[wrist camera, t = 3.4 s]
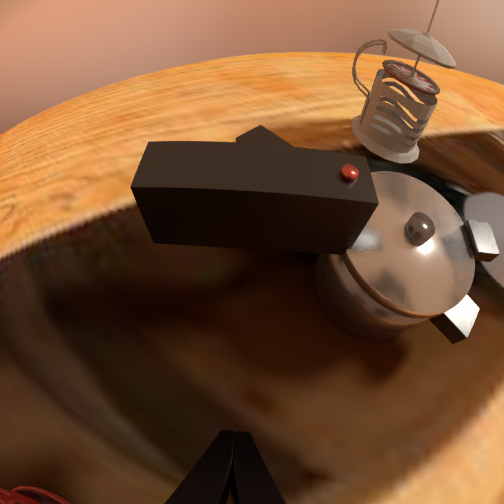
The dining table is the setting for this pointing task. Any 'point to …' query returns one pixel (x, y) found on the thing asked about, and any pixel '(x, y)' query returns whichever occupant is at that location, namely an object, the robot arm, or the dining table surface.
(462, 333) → the pot
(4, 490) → the plant pot
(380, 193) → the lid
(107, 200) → the dining table surface
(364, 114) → the french press
